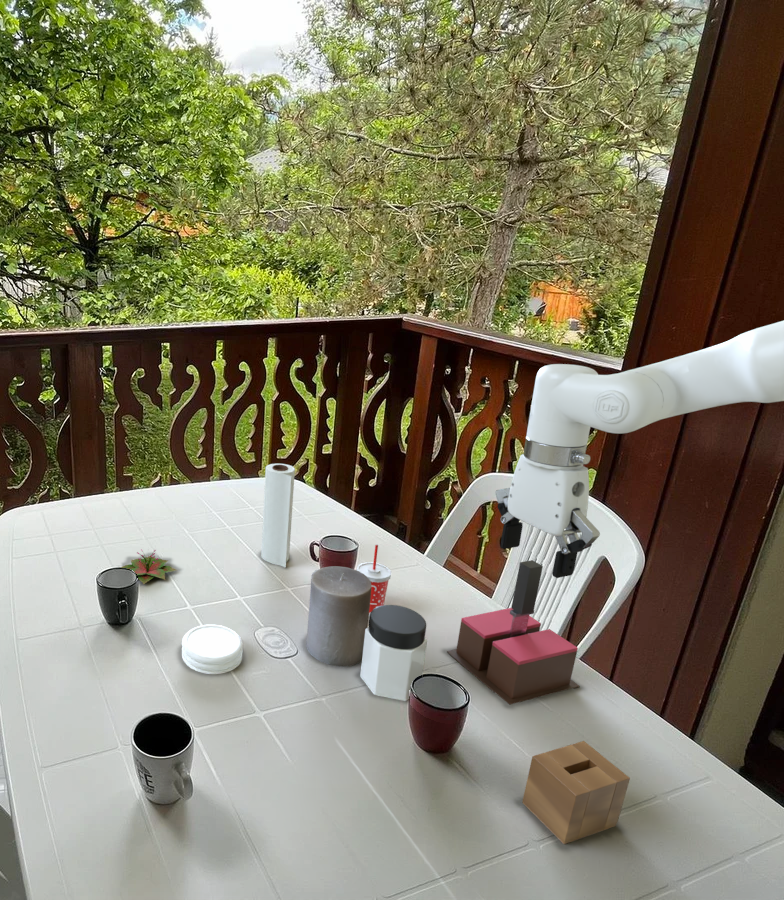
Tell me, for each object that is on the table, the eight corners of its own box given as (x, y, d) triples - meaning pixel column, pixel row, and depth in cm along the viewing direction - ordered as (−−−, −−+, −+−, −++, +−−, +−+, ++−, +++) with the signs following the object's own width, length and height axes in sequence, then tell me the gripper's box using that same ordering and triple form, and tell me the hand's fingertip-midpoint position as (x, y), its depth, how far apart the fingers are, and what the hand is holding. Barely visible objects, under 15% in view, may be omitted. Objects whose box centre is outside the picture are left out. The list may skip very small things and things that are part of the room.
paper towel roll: (263, 551, 142) (268, 461, 135) (291, 555, 140) (297, 464, 133) (257, 566, 135) (261, 471, 128) (285, 571, 133) (291, 475, 127)
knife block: (570, 791, 80) (583, 740, 77) (614, 831, 74) (630, 778, 72) (520, 808, 78) (532, 755, 75) (562, 850, 72) (576, 795, 70)
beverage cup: (345, 610, 119) (351, 542, 115) (367, 600, 122) (374, 534, 118) (370, 626, 114) (378, 556, 110) (393, 615, 118) (401, 547, 113)
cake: (510, 641, 110) (517, 602, 108) (578, 691, 98) (588, 649, 96) (445, 655, 106) (451, 616, 104) (508, 710, 94) (517, 666, 92)
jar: (381, 661, 105) (388, 597, 101) (428, 685, 99) (437, 618, 95) (350, 685, 99) (357, 618, 95) (398, 712, 93) (407, 642, 89)
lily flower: (142, 593, 124) (141, 572, 123) (107, 570, 133) (106, 550, 132) (188, 573, 132) (188, 553, 131) (152, 553, 141) (152, 534, 139)
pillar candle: (369, 644, 109) (378, 566, 104) (356, 677, 101) (365, 594, 96) (314, 629, 113) (320, 553, 108) (297, 659, 105) (303, 579, 100)
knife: (514, 662, 103) (535, 559, 97) (524, 669, 101) (546, 565, 96) (497, 666, 102) (516, 562, 96) (506, 674, 100) (527, 568, 94)
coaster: (188, 681, 99) (188, 662, 98) (176, 644, 109) (176, 626, 108) (249, 674, 101) (250, 655, 100) (233, 637, 111) (233, 620, 109)
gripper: (631, 468, 84) (606, 584, 89) (526, 434, 99) (509, 534, 104) (587, 474, 81) (564, 592, 87) (487, 438, 97) (472, 540, 102)
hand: (534, 560), depth 95 cm, fingers open, 9 cm apart
